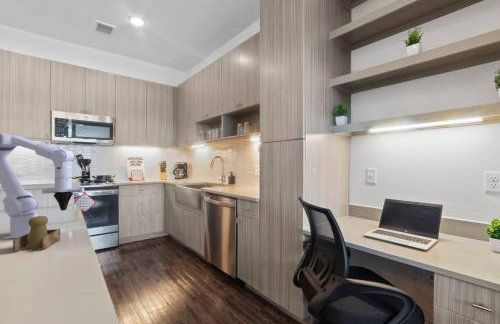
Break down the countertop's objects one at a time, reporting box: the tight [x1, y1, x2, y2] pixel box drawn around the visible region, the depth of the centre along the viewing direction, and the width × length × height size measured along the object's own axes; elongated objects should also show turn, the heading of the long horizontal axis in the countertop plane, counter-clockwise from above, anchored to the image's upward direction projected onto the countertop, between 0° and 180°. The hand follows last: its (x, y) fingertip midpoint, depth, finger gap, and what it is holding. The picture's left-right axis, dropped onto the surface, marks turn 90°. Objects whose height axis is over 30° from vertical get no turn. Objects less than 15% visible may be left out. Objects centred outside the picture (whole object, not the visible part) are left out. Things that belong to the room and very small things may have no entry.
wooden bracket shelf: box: [12, 228, 61, 253], centre depth 85 cm, size 11×9×4 cm
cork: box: [26, 215, 49, 251], centre depth 85 cm, size 6×6×11 cm
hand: (63, 209), depth 99 cm, fingers closed
